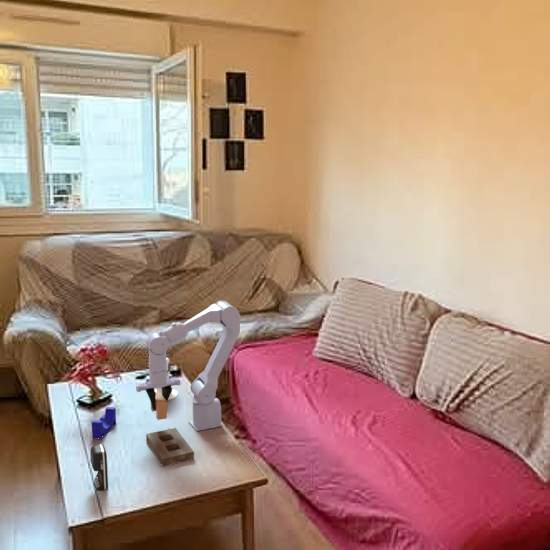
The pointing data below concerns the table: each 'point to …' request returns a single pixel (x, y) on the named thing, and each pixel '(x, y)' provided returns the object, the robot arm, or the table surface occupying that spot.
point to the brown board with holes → (169, 446)
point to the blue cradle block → (104, 423)
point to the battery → (99, 466)
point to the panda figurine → (174, 392)
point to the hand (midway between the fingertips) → (159, 408)
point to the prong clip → (160, 406)
